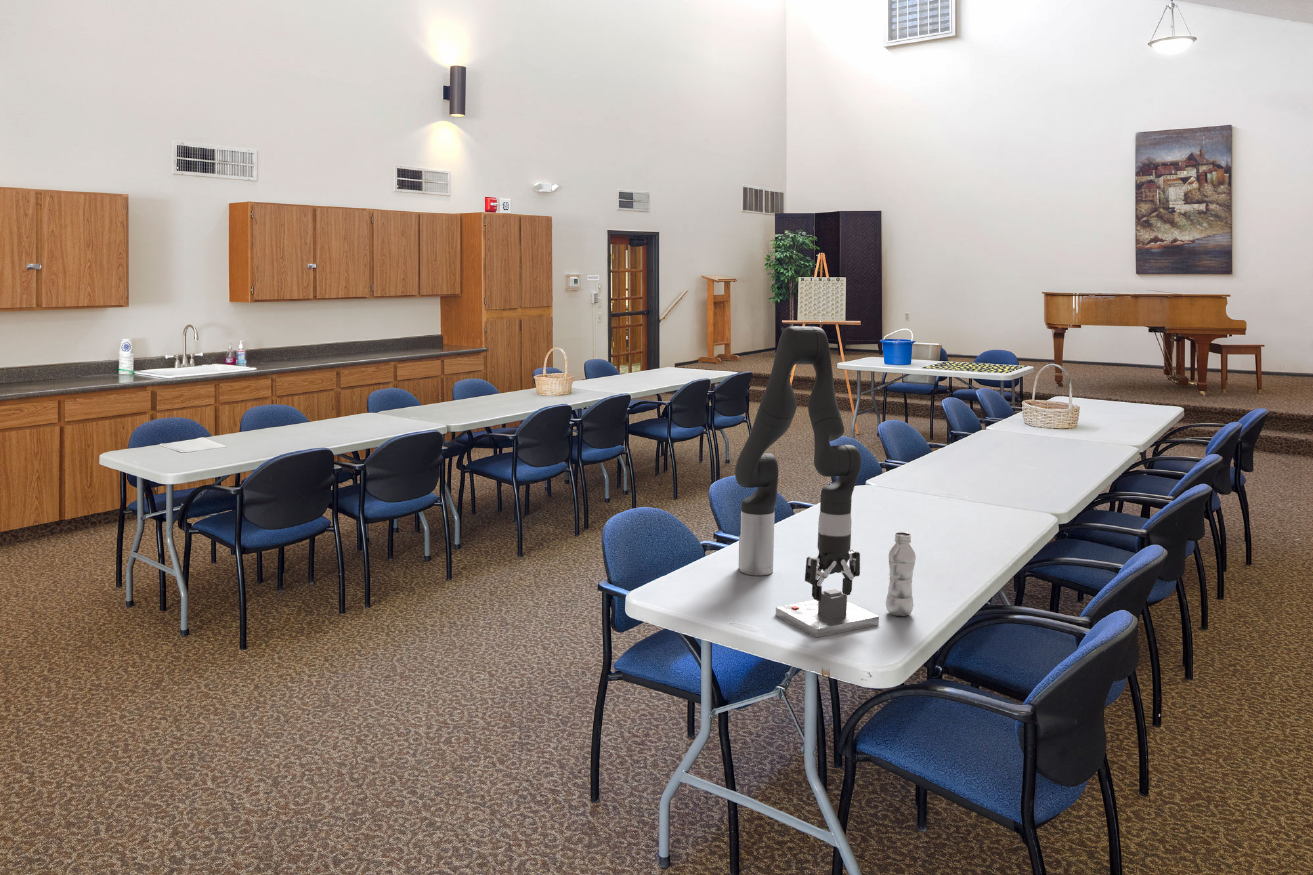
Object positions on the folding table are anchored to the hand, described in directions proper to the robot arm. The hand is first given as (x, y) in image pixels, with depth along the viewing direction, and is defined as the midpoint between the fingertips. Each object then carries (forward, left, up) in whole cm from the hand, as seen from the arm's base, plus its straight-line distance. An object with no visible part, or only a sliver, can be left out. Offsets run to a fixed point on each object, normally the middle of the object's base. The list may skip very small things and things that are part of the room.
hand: (831, 597), depth 208 cm
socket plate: (-2, 0, -6) cm, 6 cm away
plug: (0, 0, -6) cm, 6 cm away
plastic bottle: (+3, +18, -6) cm, 19 cm away
